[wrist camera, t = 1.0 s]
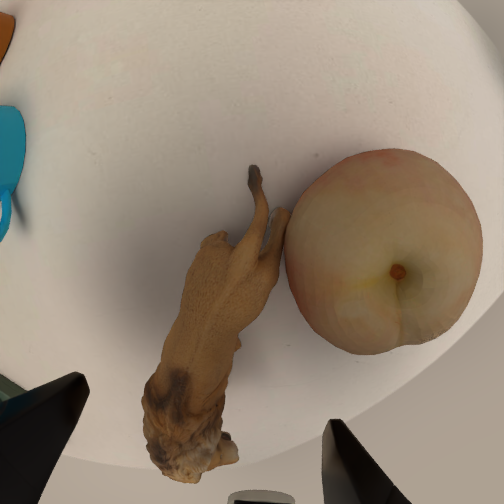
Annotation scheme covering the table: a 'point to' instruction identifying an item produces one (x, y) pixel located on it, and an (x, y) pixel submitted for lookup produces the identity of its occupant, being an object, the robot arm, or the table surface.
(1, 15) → the mug
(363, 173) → the fruit
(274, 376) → the table surface
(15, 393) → the drying rack
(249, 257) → the lion figurine
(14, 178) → the mug
